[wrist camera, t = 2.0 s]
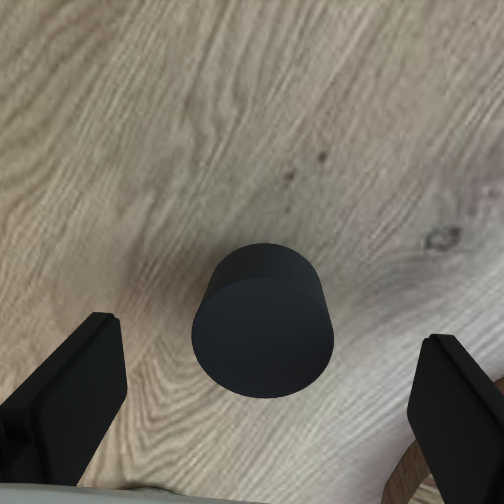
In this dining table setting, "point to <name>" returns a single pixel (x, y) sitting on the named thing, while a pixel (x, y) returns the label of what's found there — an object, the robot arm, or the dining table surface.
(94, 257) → the dining table surface
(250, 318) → the bung
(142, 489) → the soda can
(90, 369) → the robot arm
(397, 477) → the trivet
